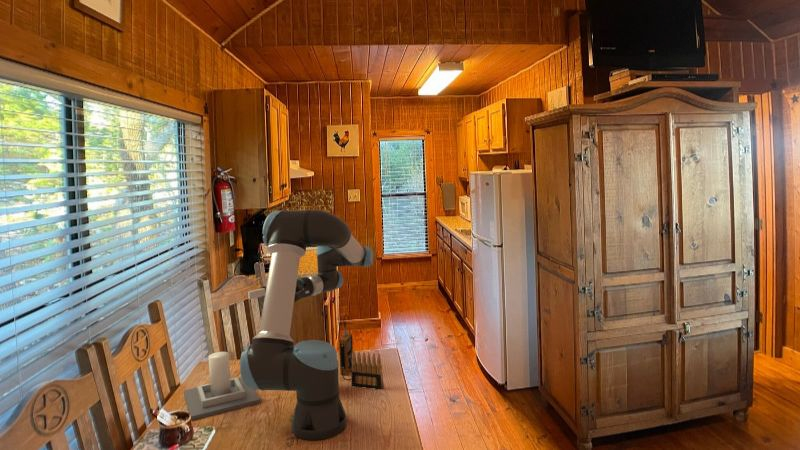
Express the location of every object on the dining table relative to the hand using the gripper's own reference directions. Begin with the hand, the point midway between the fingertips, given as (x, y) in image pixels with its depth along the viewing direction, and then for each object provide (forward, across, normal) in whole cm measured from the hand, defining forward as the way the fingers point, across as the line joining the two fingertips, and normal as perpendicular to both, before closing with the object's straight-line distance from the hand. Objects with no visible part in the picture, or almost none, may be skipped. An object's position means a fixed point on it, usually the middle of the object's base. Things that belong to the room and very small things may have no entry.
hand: (259, 298), depth 164 cm
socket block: (+18, -4, -28) cm, 34 cm away
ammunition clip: (-16, -36, -28) cm, 48 cm away
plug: (+18, -4, -27) cm, 33 cm away
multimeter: (-22, -24, -28) cm, 43 cm away
